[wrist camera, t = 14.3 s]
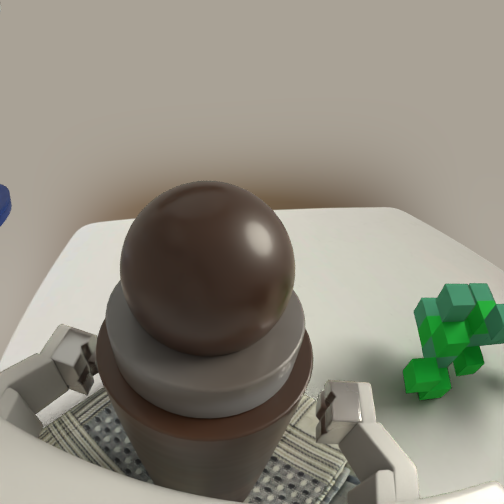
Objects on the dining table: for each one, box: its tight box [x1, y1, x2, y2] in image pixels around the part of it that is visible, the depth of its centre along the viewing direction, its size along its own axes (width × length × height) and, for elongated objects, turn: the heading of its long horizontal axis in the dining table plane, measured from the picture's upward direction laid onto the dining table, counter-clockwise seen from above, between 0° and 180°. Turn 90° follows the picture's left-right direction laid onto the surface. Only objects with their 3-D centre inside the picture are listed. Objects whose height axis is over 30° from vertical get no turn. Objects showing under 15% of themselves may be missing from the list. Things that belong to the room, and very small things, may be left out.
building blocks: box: [403, 283, 504, 400], centre depth 23 cm, size 20×13×13 cm, turn 101°
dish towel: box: [38, 387, 361, 504], centre depth 15 cm, size 19×18×3 cm
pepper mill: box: [96, 181, 313, 502], centre depth 10 cm, size 6×6×16 cm
